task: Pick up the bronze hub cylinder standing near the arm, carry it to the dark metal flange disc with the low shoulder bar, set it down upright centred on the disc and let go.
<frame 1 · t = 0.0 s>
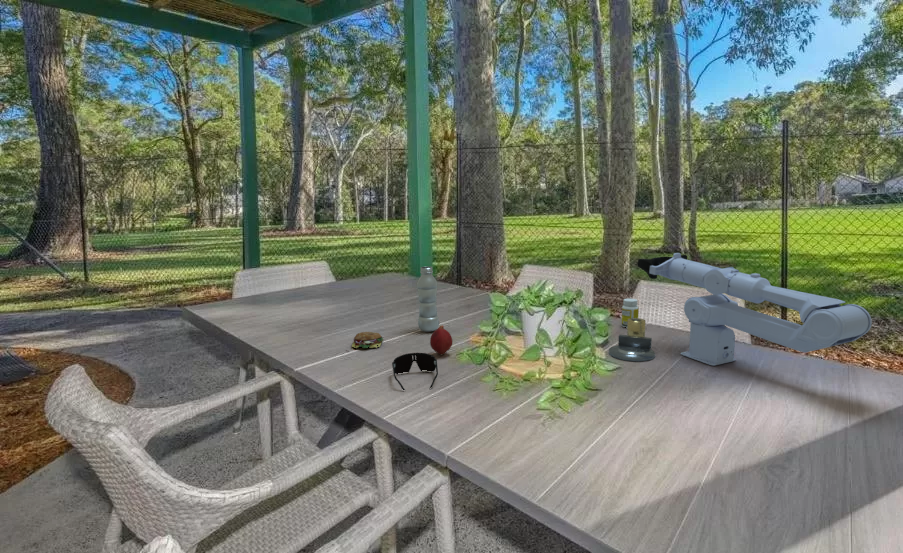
hand: (649, 261, 135), 22 cm above the table, tool horizontal, fingers open, 7 cm apart
onion: (441, 355, 129), on the table
flange seat: (631, 354, 125), on the table
sunglasses: (416, 382, 112), on the table
hamburger: (363, 349, 138), on the table
hub: (635, 341, 135), on the table
plastic bottle: (428, 331, 152), on the table
supplement bottle: (629, 327, 150), on the table
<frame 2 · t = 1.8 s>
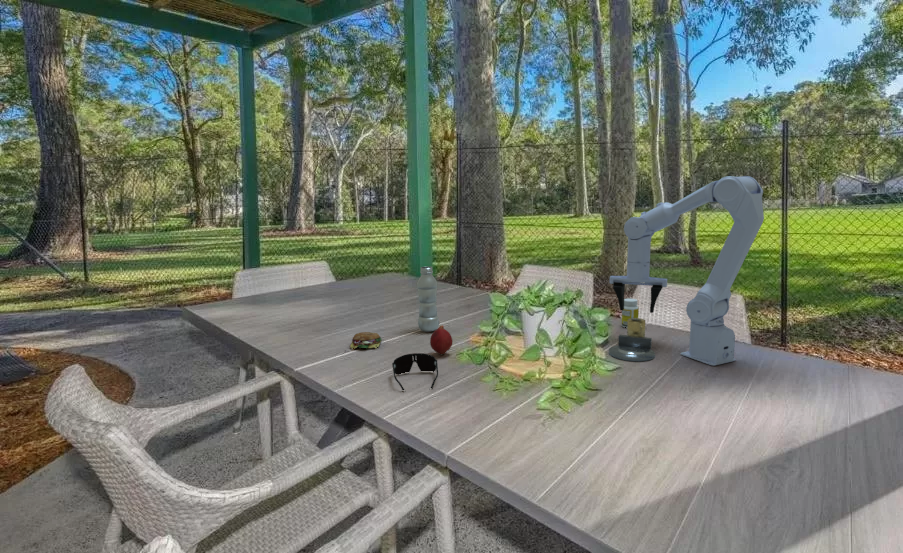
hand: (636, 310, 134), 9 cm above the table, tool pointing down, fingers open, 7 cm apart
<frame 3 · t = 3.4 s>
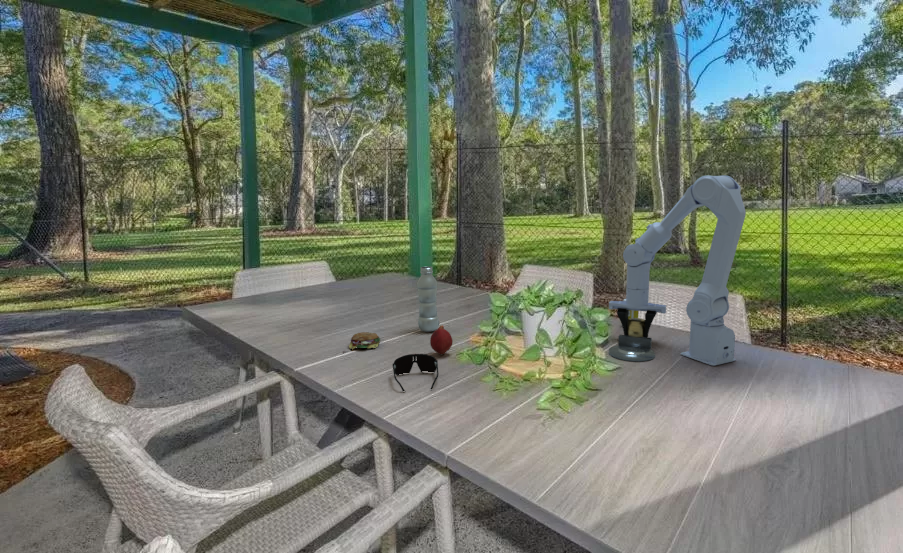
hand: (636, 336, 135), 1 cm above the table, tool pointing down, fingers closed on hub, 5 cm apart
hub: (635, 341, 135), on the table, touching gripper
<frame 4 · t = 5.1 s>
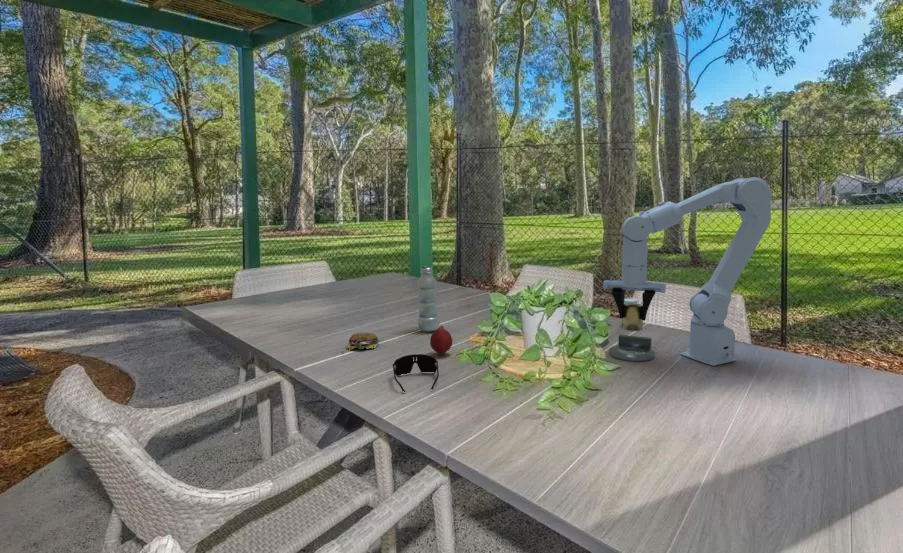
hand: (632, 318, 123), 9 cm above the table, tool pointing down, fingers closed on hub, 5 cm apart
hub: (632, 328, 124), point 7 cm above the table, touching gripper
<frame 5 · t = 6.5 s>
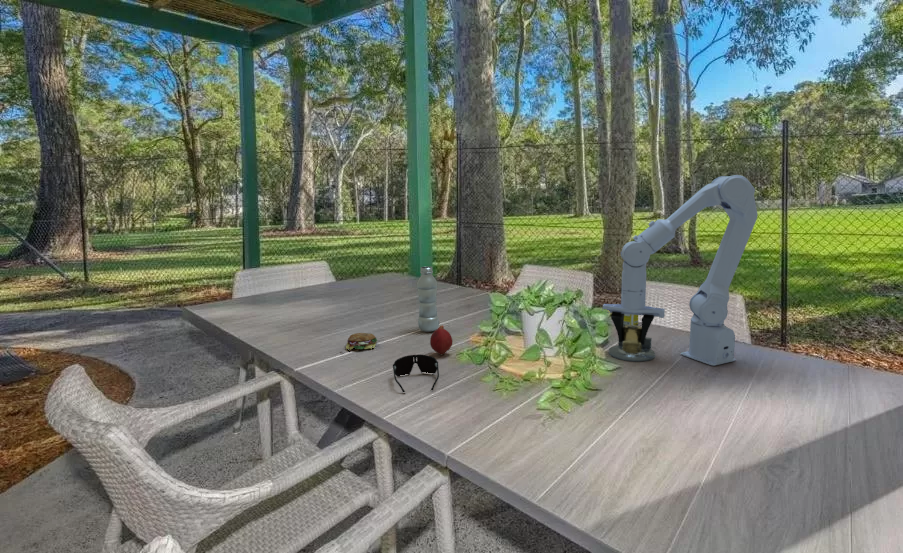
hand: (631, 342, 124), 3 cm above the table, tool pointing down, fingers closed on hub, 5 cm apart
hub: (632, 350, 125), point 1 cm above the table, touching flange seat, gripper
when the fingers open (3 cm above the table, at t = 7.2 s): hub stays where it is, resting on flange seat.
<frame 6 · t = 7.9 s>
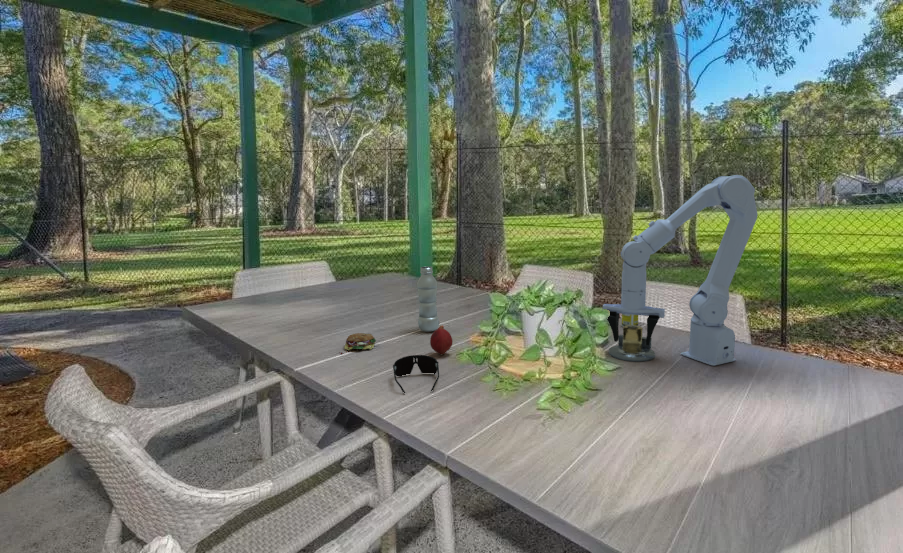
hand: (631, 342, 124), 3 cm above the table, tool pointing down, fingers open, 7 cm apart
hub: (632, 350, 125), point 1 cm above the table, touching flange seat
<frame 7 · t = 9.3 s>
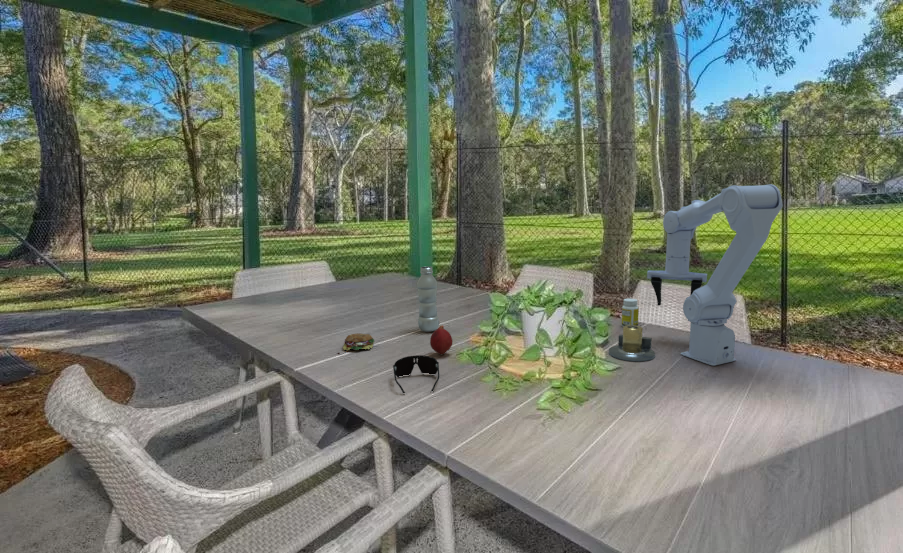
hand: (674, 305, 132), 10 cm above the table, tool pointing down, fingers open, 7 cm apart
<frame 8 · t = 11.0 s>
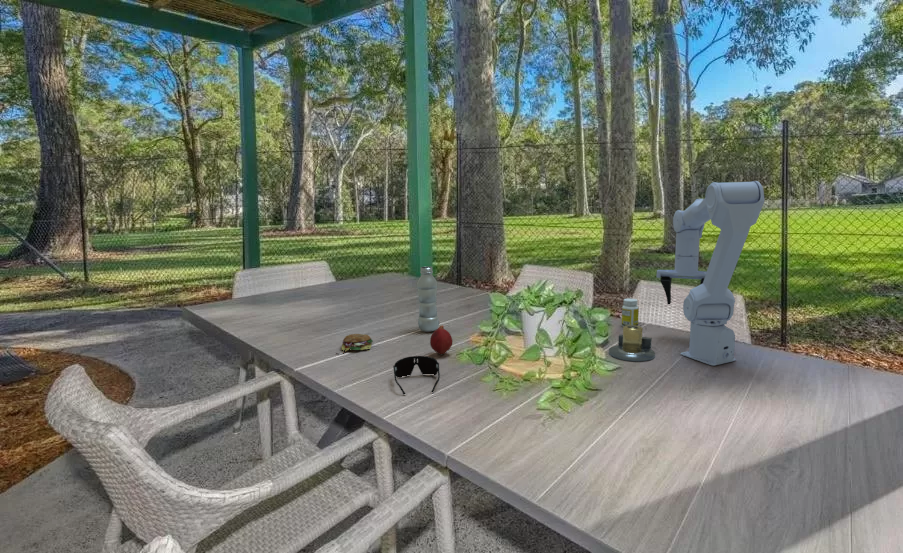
hand: (684, 304, 134), 10 cm above the table, tool pointing down, fingers open, 7 cm apart
at the end: hub 0.8 cm off-centre on the flange seat, point 0.9 cm above the flange seat's base; hub tilted 0°; the gripper is holding nothing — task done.
